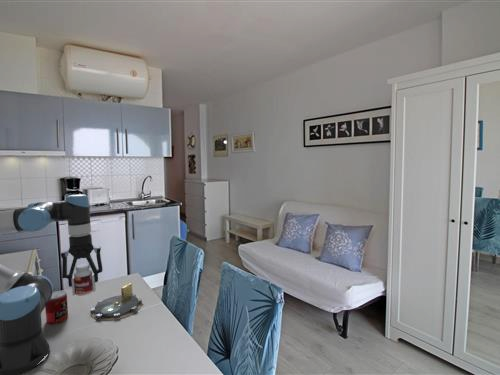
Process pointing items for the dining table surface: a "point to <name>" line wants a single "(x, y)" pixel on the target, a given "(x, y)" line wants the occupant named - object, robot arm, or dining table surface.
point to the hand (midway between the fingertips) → (84, 291)
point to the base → (116, 318)
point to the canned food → (57, 308)
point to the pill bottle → (83, 280)
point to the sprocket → (117, 304)
